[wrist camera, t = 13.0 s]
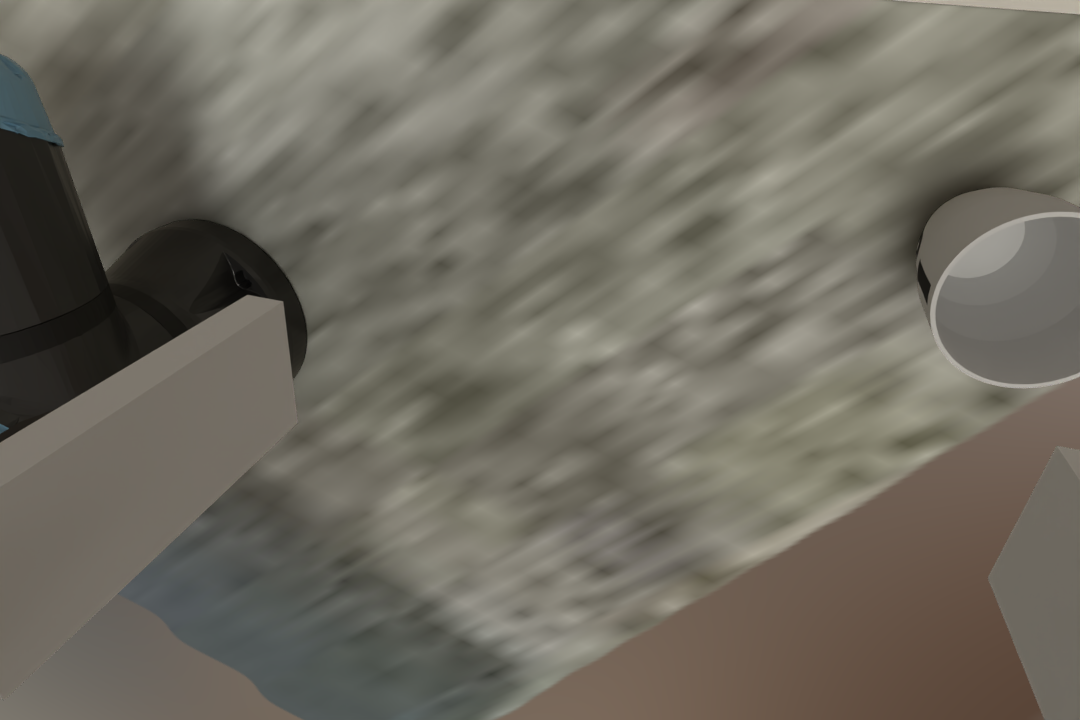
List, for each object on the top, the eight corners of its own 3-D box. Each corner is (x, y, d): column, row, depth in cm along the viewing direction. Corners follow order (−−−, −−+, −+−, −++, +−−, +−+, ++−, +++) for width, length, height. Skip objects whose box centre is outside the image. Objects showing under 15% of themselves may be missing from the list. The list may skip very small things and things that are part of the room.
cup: (866, 214, 39) (897, 276, 31) (1022, 128, 35) (1108, 172, 27) (931, 327, 41) (978, 415, 33) (1087, 257, 37) (1186, 336, 29)
